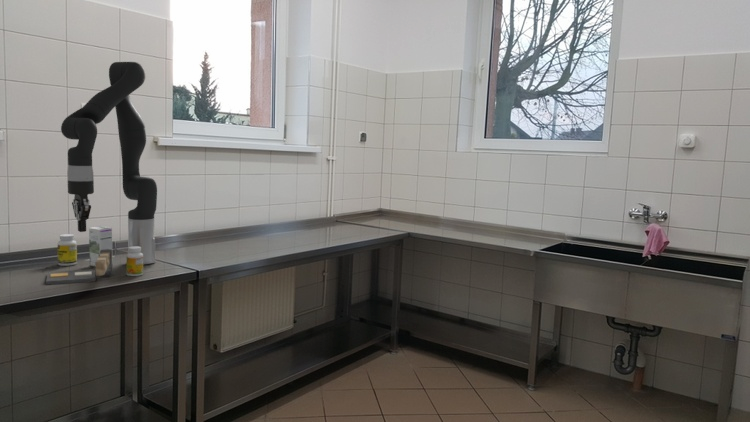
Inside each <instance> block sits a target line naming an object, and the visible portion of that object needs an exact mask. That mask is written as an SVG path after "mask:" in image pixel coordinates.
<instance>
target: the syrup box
mask: <svg viewBox="0 0 750 422" xmlns="http://www.w3.org/2000/svg"><path fill="white" fill-rule="evenodd" d="M88 244H89V245H88V247H89V248H88V249H89V266H90V267H94V268H96V264H95V262H96V261H97V259H98V257H99V256H100V250H104V249H110V250H112V251H113V228H112V227H111V226H110V227H109V226H104V225H103V226H101V225H99V226H98V225H97V226H92V227H88ZM113 258H114V257H113V255H112V264H113V263H114V262H113ZM113 265H114V264H113Z"/></svg>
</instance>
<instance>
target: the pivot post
mask: <svg viewBox="0 0 750 422" xmlns="http://www.w3.org/2000/svg"><path fill="white" fill-rule="evenodd" d="M113 266H114V264H109V266H108V268H107V270H106V272H105V274H104V275H101V276H99V277H101V278H102V277H103V278H109V277H112V276H113V275H114V273H113V272H114V269H113Z"/></svg>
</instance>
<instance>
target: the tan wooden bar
mask: <svg viewBox="0 0 750 422" xmlns="http://www.w3.org/2000/svg"><path fill="white" fill-rule="evenodd" d="M112 256H113V249H112V250H110V249H104V250H100V256H99V257H98V259H97V261H96V262H95V264H96V267H95V276H99V277H100V276H101V275H104V274H105V272H106V270H107V268H108V266H109V264H112Z"/></svg>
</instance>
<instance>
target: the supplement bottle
mask: <svg viewBox="0 0 750 422" xmlns="http://www.w3.org/2000/svg"><path fill="white" fill-rule="evenodd" d="M140 251H141V247H139V246H133V247H129V253H127V254H126V275H127V276H128V277H137V276H138V277H139V276H143V275H144V264H143V254H142V253H140Z"/></svg>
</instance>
